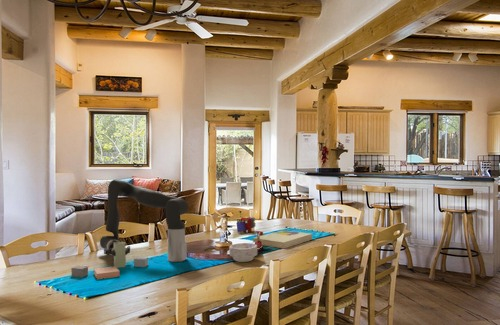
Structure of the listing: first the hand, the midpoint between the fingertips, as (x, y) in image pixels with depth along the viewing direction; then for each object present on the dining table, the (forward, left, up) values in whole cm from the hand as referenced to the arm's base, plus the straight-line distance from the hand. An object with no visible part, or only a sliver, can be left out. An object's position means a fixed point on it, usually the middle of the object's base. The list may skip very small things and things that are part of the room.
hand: (120, 253), depth 209 cm
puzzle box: (-65, -87, -8) cm, 109 cm away
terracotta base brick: (-2, +14, -8) cm, 16 cm away
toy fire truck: (-55, -62, -7) cm, 83 cm away
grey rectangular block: (+10, +18, -7) cm, 22 cm away
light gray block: (-8, -6, -7) cm, 12 cm away
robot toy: (-30, -115, -7) cm, 119 cm away
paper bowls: (-55, -32, -7) cm, 64 cm away
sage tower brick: (+2, -2, -7) cm, 7 cm away
